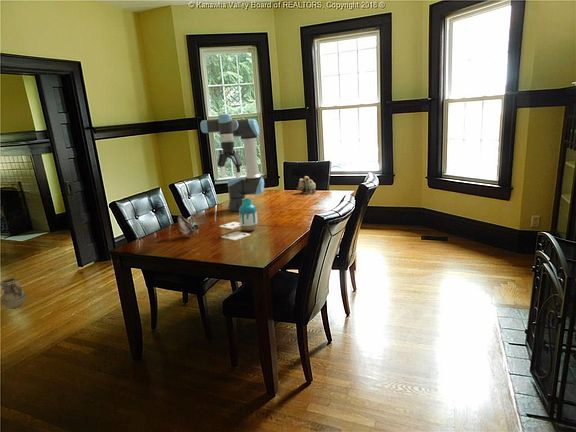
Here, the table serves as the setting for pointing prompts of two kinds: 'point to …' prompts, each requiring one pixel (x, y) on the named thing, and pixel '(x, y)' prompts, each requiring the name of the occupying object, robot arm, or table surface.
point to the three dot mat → (231, 225)
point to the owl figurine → (306, 186)
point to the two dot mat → (235, 235)
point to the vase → (248, 215)
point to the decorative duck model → (186, 226)
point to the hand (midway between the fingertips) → (230, 177)
